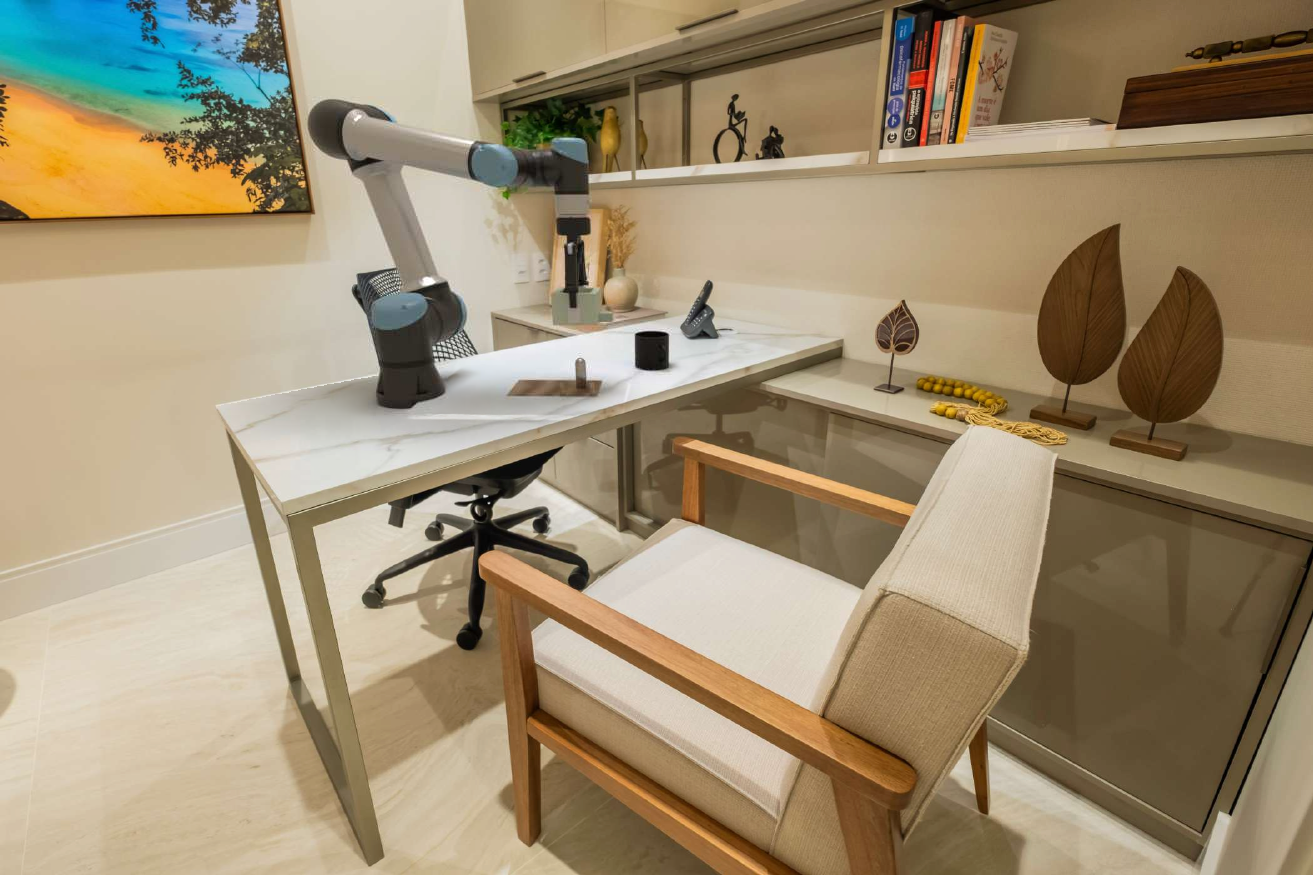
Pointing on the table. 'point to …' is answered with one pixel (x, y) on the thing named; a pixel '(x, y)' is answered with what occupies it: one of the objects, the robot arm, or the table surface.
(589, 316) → the sage green storage bin
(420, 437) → the table surface
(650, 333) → the mug
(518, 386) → the board
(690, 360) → the table surface
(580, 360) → the post
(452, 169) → the robot arm
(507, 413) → the table surface
